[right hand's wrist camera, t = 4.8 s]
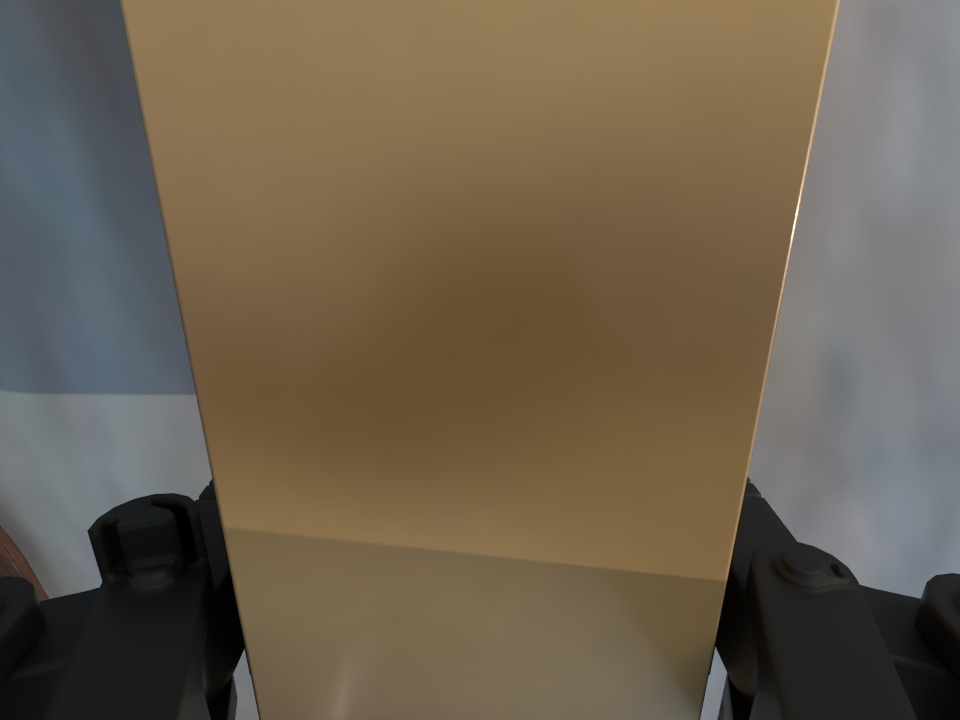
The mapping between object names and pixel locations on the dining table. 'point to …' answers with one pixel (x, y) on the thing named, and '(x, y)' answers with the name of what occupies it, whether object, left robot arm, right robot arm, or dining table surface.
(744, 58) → the bar
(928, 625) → the right robot arm
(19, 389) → the dining table surface
